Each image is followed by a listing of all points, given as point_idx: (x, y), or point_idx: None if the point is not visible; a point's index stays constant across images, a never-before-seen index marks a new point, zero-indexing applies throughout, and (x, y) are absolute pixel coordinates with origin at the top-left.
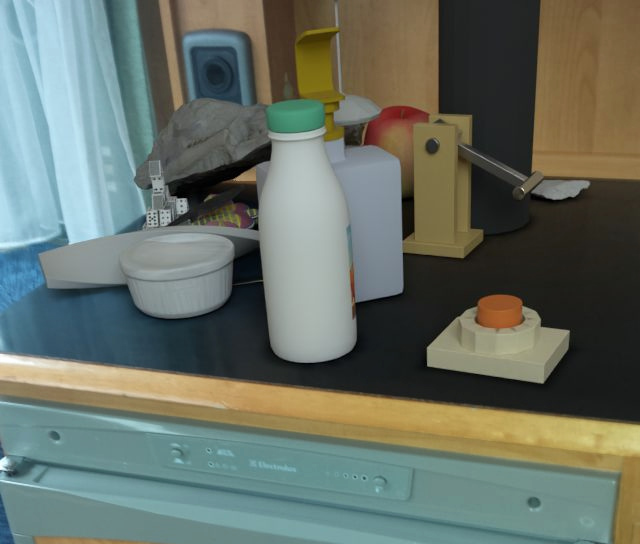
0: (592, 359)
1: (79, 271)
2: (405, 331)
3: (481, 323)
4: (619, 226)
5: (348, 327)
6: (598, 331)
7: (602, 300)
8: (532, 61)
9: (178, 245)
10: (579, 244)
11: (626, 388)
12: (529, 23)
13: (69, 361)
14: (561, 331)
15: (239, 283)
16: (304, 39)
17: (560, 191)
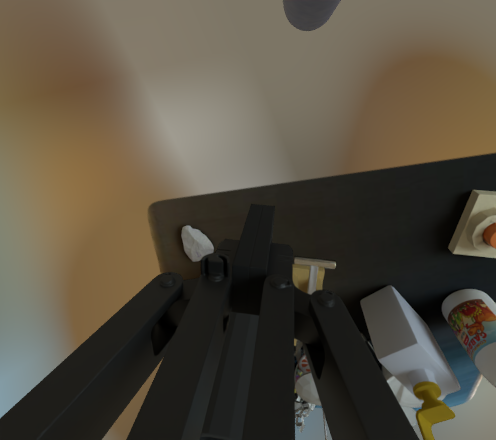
0: (488, 174)
1: (406, 411)
2: (441, 271)
3: None
4: (246, 194)
5: (485, 298)
6: (442, 178)
7: (388, 183)
8: (248, 318)
9: (406, 390)
10: (287, 212)
11: None
12: (250, 344)
13: (477, 383)
14: (480, 198)
15: (374, 351)
16: None
17: (203, 240)
